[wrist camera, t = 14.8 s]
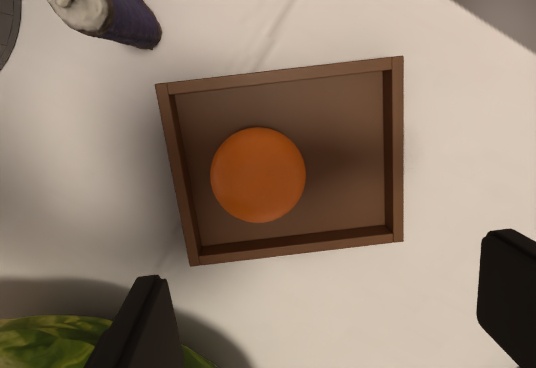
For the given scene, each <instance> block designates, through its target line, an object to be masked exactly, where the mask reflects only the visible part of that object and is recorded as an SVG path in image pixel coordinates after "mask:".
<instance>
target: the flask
mask: <svg viewBox="0 0 536 368" xmlns="http://www.w3.org/2000/svg"><path fill="white" fill-rule="evenodd" d="M47 1H48V3H49V4H50V5H51V7H52V8H53V10H54V11H55V13H56V14H57V15H58V16H59V17H60V18H61V19H62V20H63V21H64V22H65V23H66V24H67V25H68V26H69V27H70V28H72V29H74V30H76V31H78V32H80V33H83V34H85V35H88V36H92V37H98V38H103V39H107V40H113V41H116V42H118V43H122V44H126V45H132V46H136V47H137V48H141V49H151V50H153V47H154V46H155V45H157V43H158V42H159V41H160V38H161V34H162V31H161V27H160V24H159V23H158V22H157V20H156V17H155V15H154V14H153V12H152V11H151V10H150V8H149V7H148V6H147V5H146V4H145V3H144V1H143V0H47Z"/></svg>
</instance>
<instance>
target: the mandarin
mask: <svg viewBox="0 0 536 368" xmlns="http://www.w3.org/2000/svg"><path fill="white" fill-rule="evenodd" d="M210 180H211V186H212V190H213V193H214V195H215V197H216V199H217V200H218V202H219V203H220V205H221V206H222V207H223V208H224V209H225V210H226V211H227V212H228V213H230V214H231V215H232V216H234V217H236V218H238V219H240V220H243V221H246V222H252V223H264V222H269V221H273V220H275V219H278V218H280V217H282V216H283V215H285V214H286V213H288V212H289V211H290V210H291V209H292V208H293V207H294V206H295V205H296V203H297V202H298V201H299V199H300V197H301V195H302V193H303V190H304V186H305V181H306V170H305V164H304V160H303V158H302V155H301V153H300V151H299V150H298V148H297V147H296V146H295V144H294V143H293V142H292V141H291V140H290V139H289V138H287V137H286V136H285V135H283V134H281V133H280V132H278V131H275V130H272V129H269V128H262V127H255V128H247V129H244V130H241V131H239V132H237V133H235V134H233V135H231V136H230V137H229V138H227V139H226V140H225V141H224V142H223V143H222V144H221V145H220V147H219V148H218V150H217V151H216V153H215V155H214V157H213V160H212V164H211V169H210Z"/></svg>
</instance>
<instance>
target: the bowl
mask: <svg viewBox="0 0 536 368" xmlns="http://www.w3.org/2000/svg"><path fill="white" fill-rule="evenodd" d="M20 15H21V0H0V69H1V68H2V66H3V65H4V63H5V62H6V61H7V59H8V57H9V55H10V53H11V51H12V49H13V47H14V44H15V41H16V38H17V34H18V30H19V23H20Z"/></svg>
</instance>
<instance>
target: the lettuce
mask: <svg viewBox="0 0 536 368" xmlns="http://www.w3.org/2000/svg"><path fill="white" fill-rule="evenodd" d="M112 322H113V321H111V320H107V319H103V318H97V317H86V316H75V315H37V316H29V317H21V318H14V319H0V368H83V367H84V365H85V363H86V362H87V360H88V358H89V356H90V354H91V353H92V351H93V349H94V347H95V346H96V344H97V342H98V340H99V339H100V337H101V335H102V333H103V332H104V331H105V330H106V329H108V328H109V327H110V326H111V324H112ZM181 346H182V350H183V355H184V368H217V367H216V366H215V365H214V364H213V363H212V362H210V361H209V360H207V359H205V358H204V357H202V356H201V355H199V354H197V353H196V352H194V351H193V350H191V349H190V348H188V347H186V346H184V345H181Z"/></svg>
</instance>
